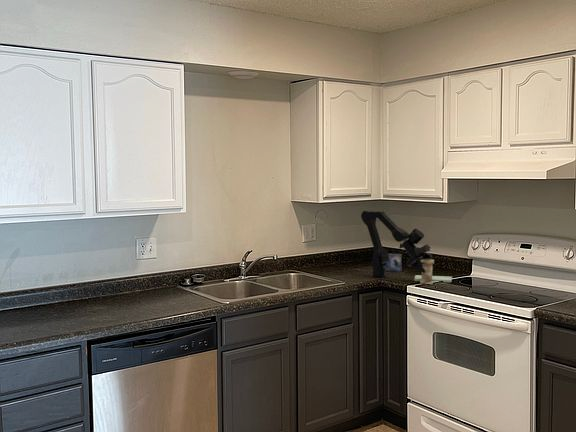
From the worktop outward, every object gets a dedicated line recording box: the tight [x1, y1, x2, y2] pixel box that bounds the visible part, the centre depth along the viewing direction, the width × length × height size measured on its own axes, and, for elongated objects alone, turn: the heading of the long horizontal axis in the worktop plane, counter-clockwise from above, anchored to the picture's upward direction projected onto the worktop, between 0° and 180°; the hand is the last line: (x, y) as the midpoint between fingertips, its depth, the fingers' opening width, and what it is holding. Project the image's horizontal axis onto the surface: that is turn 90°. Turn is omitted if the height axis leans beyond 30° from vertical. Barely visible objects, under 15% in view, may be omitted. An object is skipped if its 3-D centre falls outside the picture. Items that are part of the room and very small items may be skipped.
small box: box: [384, 252, 403, 273], centre depth 368 cm, size 11×6×10 cm, turn 76°
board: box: [414, 274, 453, 283], centre depth 338 cm, size 20×12×1 cm, turn 74°
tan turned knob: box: [419, 259, 435, 285], centre depth 326 cm, size 7×7×13 cm
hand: (429, 271), depth 325 cm, fingers open, 9 cm apart
